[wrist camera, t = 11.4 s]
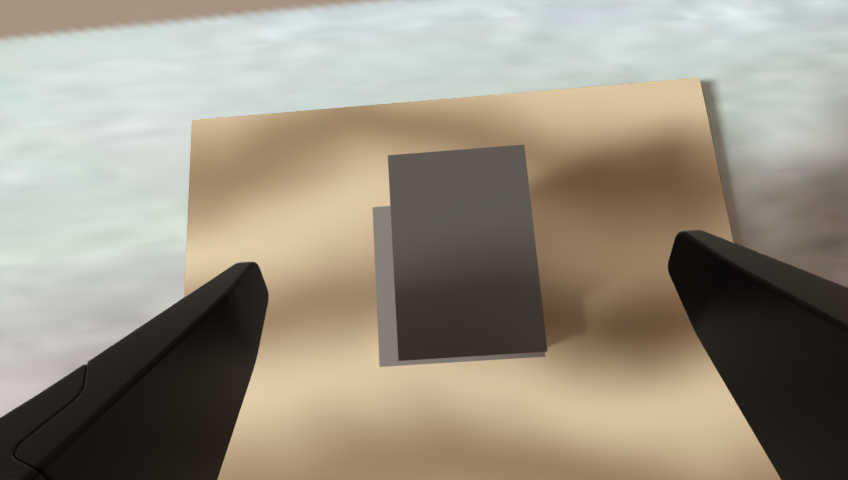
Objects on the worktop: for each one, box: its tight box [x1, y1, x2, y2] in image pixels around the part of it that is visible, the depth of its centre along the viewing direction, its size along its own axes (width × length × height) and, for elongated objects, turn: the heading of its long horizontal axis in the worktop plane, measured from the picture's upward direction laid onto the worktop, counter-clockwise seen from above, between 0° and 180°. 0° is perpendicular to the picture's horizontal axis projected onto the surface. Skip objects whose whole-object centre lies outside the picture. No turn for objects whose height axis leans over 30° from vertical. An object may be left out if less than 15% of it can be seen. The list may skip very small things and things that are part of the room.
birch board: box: [184, 78, 781, 480], centre depth 18 cm, size 20×24×1 cm
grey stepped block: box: [372, 145, 548, 367], centre depth 14 cm, size 6×6×9 cm
